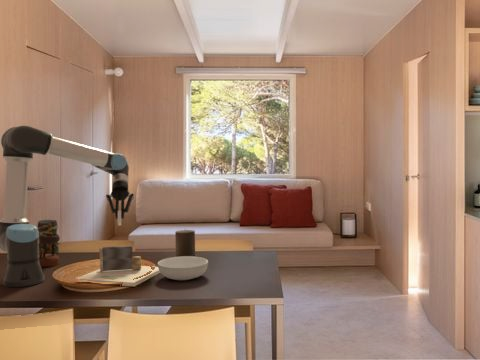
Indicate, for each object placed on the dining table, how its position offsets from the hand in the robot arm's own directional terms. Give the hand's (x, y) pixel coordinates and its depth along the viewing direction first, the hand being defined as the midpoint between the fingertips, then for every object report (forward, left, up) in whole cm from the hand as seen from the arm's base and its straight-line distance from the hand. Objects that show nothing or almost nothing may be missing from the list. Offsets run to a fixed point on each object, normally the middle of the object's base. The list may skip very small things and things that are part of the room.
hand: (119, 223), depth 206 cm
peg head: (-9, -6, -19) cm, 21 cm away
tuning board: (-12, -8, -21) cm, 25 cm away
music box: (0, +40, -21) cm, 45 cm away
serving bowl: (-8, -35, -21) cm, 41 cm away
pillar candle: (+26, -20, -21) cm, 39 cm away
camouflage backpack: (+20, +57, -21) cm, 64 cm away
